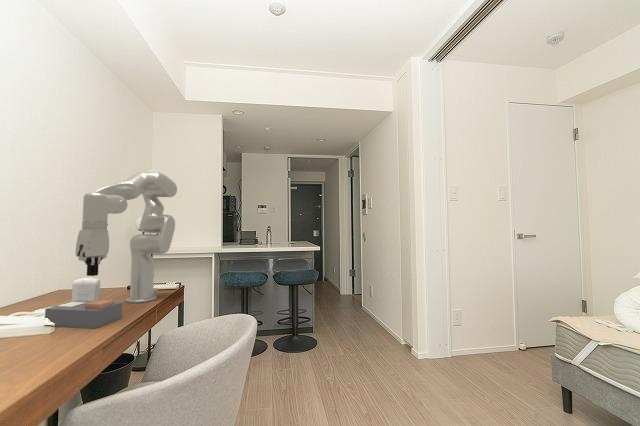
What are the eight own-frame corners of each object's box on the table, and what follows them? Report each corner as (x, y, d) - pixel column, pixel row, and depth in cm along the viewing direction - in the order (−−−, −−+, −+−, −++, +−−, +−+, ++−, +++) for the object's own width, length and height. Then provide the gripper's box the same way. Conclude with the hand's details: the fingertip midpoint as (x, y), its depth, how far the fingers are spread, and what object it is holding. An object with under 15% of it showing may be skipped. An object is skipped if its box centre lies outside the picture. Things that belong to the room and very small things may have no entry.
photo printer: (101, 304, 133) (102, 277, 134) (95, 307, 129) (96, 278, 130) (75, 305, 132) (77, 277, 133) (69, 307, 128) (70, 278, 128)
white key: (71, 313, 114) (72, 301, 114) (86, 314, 113) (86, 302, 113) (56, 318, 108) (57, 305, 108) (71, 319, 107) (72, 306, 107)
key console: (75, 315, 117) (76, 300, 117) (121, 318, 115) (122, 302, 115) (44, 325, 105) (45, 308, 105) (95, 328, 103) (96, 311, 103)
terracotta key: (98, 311, 113) (98, 299, 113) (112, 312, 112) (113, 300, 112) (84, 316, 107) (84, 303, 107) (99, 317, 106) (100, 304, 106)
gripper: (102, 226, 119) (100, 272, 118) (66, 225, 104) (63, 278, 103) (119, 226, 118) (117, 272, 117) (85, 226, 103) (82, 279, 102)
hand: (92, 275), depth 110 cm, fingers closed
